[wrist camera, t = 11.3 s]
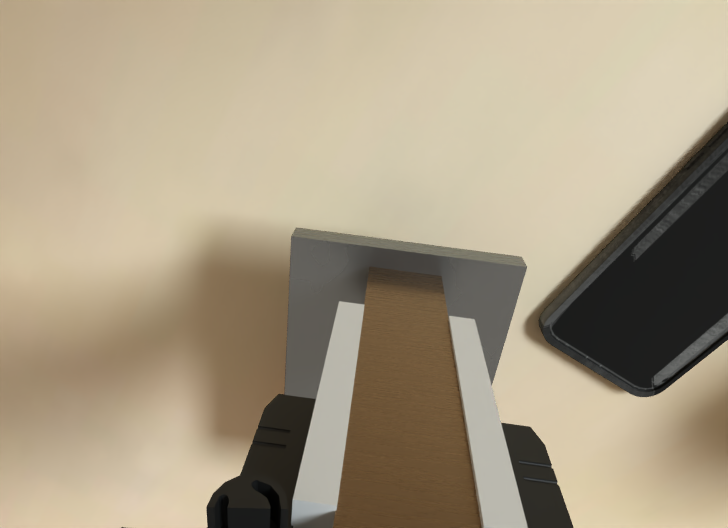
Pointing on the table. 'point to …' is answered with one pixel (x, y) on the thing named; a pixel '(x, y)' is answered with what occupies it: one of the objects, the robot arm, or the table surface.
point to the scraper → (399, 367)
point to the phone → (654, 285)
